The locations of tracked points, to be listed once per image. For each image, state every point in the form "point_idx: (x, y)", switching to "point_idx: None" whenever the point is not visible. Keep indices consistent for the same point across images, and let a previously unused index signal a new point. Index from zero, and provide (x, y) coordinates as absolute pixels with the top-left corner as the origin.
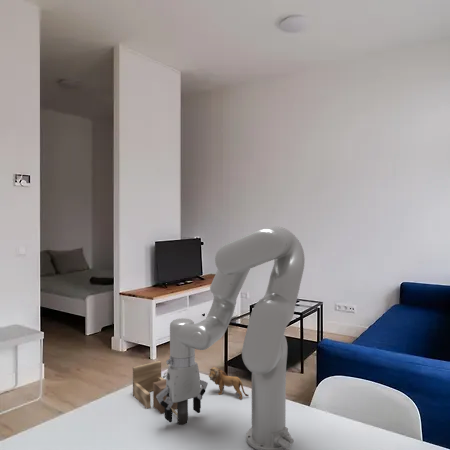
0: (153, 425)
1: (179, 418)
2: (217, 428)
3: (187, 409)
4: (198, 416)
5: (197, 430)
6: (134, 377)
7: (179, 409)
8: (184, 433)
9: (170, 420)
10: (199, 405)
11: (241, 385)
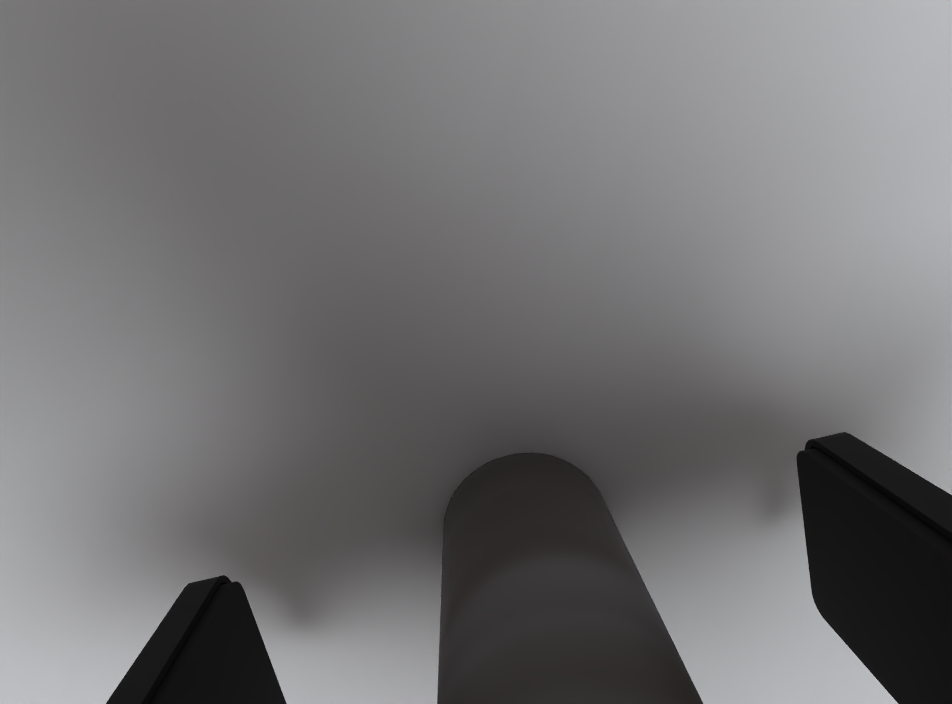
0: None
1: (618, 532)
2: (5, 131)
3: (463, 629)
4: None
5: (369, 206)
6: None
7: (672, 652)
8: (603, 198)
9: (864, 445)
10: (132, 686)
11: None
